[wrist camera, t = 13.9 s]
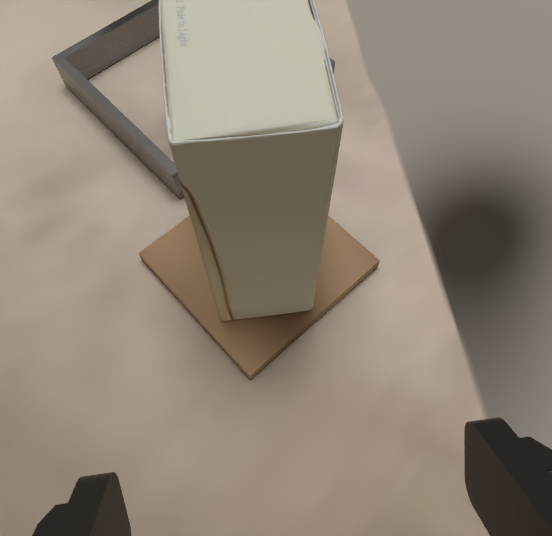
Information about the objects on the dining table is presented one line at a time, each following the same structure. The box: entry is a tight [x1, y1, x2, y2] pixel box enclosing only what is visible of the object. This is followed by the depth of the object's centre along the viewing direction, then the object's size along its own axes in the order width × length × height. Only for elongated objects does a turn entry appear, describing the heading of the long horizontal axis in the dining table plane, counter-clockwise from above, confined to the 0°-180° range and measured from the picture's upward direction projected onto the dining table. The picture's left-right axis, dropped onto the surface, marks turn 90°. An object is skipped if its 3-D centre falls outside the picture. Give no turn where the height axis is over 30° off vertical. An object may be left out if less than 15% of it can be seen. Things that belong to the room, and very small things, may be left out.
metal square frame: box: [52, 0, 335, 199], centre depth 29 cm, size 11×11×2 cm
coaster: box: [139, 216, 380, 380], centre depth 25 cm, size 8×8×1 cm
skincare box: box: [159, 0, 343, 321], centre depth 19 cm, size 6×4×12 cm
